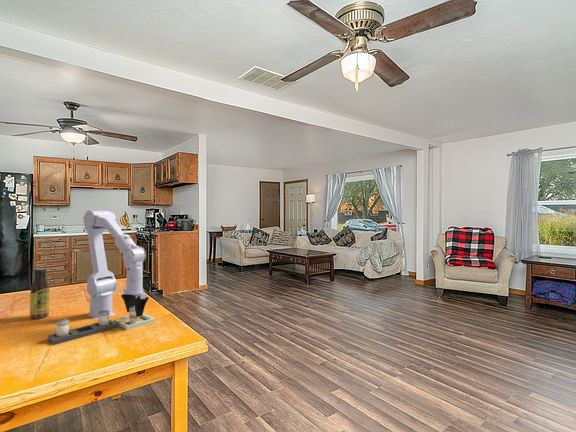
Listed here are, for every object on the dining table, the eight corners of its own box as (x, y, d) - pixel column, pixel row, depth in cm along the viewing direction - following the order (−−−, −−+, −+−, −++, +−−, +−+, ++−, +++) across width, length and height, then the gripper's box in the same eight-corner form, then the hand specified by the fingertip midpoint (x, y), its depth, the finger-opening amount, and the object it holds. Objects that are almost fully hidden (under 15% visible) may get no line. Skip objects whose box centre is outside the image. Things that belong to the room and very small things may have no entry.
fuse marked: (127, 323, 125) (127, 307, 125) (137, 320, 128) (137, 305, 127) (131, 325, 123) (131, 309, 122) (141, 322, 125) (141, 307, 125)
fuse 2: (96, 328, 119) (96, 312, 119) (107, 325, 122) (107, 309, 122) (100, 330, 117) (100, 314, 117) (111, 327, 120) (111, 311, 119)
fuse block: (47, 340, 109) (47, 335, 109) (110, 324, 124) (110, 319, 124) (53, 346, 104) (53, 340, 104) (117, 329, 120) (117, 323, 120)
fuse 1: (54, 338, 109) (54, 321, 109) (67, 335, 112) (67, 318, 112) (58, 341, 107) (58, 324, 107) (70, 338, 110) (70, 321, 109)
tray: (113, 324, 124) (113, 319, 124) (141, 317, 133) (141, 312, 133) (126, 331, 117) (126, 326, 117) (155, 323, 126) (155, 318, 126)
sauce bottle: (38, 320, 128) (38, 270, 128) (25, 319, 129) (25, 270, 129) (53, 314, 135) (53, 267, 134) (41, 313, 136) (40, 267, 135)
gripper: (115, 278, 126) (115, 312, 127) (132, 283, 117) (133, 320, 117) (133, 275, 132) (133, 307, 132) (151, 280, 122) (151, 315, 123)
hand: (134, 313), depth 125 cm, fingers open, 7 cm apart
